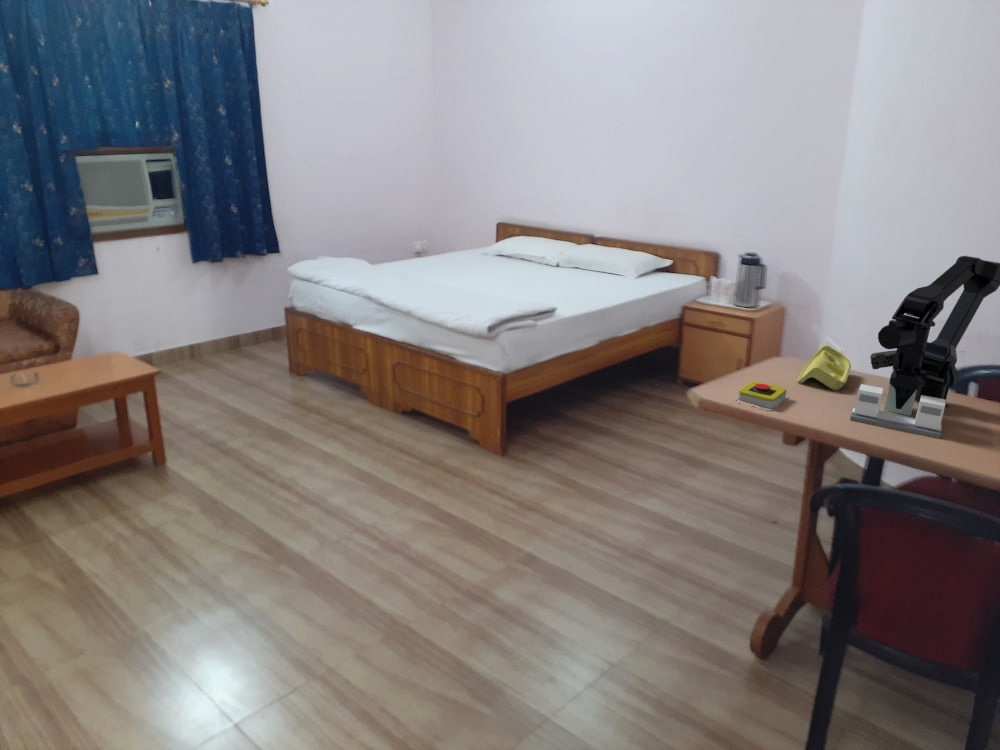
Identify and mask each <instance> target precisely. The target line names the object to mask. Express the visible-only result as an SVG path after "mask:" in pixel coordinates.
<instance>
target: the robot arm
mask: <svg viewBox="0 0 1000 750" xmlns="http://www.w3.org/2000/svg"><path fill="white" fill-rule="evenodd" d="M962 286H963V291H962V292H961V294H960V296H959V297H958V299H957V301H956V303H955V305H954V306H953V309H952V310H951V312H950V314H949V315H948V317H947V319H946V321H945V323H944V324H943V326H942V328H941V330H940V332H939V333H938V335H937V336H936V339H934V340H933V341H931V342H929V341H928V339H929V336H930V330H931V327H935V326H936V323H935V321H934V319H936V318H937V316H938V315H940V313H941V312H942V311H943V309H944V305H945V301H946V300H947V299H948V298H949V297H950V296H952V295H953V294H954V293H955V292H956V291H957V290H959V289H960V288H961V287H962ZM999 287H1000V262H996V261H990V260H984V259H981V258H980V257H977V256H976V257H975V256H969V255H963V256H961V255H960V256H959V257H958V258H957V259H956V261H955V263H954V264H953V265H951V266H950V267H949V268H948V269H946V270H945V271H944V272H943V273H942V274H941V275H939V276H938V277H937V278H936V279H935V280H934V281H932V282H931V283H930V284H928V285H926V286H921V287H918V288H916V289H914V290H912V291H911V292H909V293H908V294H907V295H906V296H905V297H904V299H903V300H902V301H901V303H900V304H899V306H898V307H897V309H896V311H895V312H894V314H893V315H892V317H891V319H890V320H889V322H888V325H885V326H883V327H881V329H880V330H879V331H878V335H877V339H878V340H877V341H878V344H879V345H880V346H882V348H884V349H886V350H887V351H880V352H873V353H871V355H870V357H869V358H870V361H871V362H870V364H871V368H872V369H873V370H879V369H881V368H890V367H892V371H891V374H890V379H889V382H888V383H889V385H892V386H893V387H894V388H895V390H896V409H901V408H902V407H903V406H904V404H905V403H906V402H907V401H908V399H909V398H910V397H911V396H912V394H913V393H914V392H915V391H916V390H917V392H916V396H915V400H914V401H915V402H917V403H919V402H920V398H921V395H923V396H929V397H934V398H940V399H945V408H947V407H949V406H950V404H948V403H947V402H946V401H947V396H948V394H949V390H950V386H951V387H954V386H955V385H956V384H957V383H958V381H959V379H960V374H959V372H958V369H957V367H956V364H957V362H958V356H957V347H958V345H959V344H960V342H961V340H962V337H964V334H965V333H966V331H967V329H968V327H969V325H970V323H972V321H973V318H974V317H975V315H976V313H977V311H978V309H979V307H980V306H981V304H982V303H983V300H984V299H985V298H986V297H988V296H990V295H991V294H993V293H994V292H996V291H997V290H998V289H999ZM895 349H896V350H895Z"/></svg>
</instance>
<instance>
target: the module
mask: <svg viewBox="0 0 1000 750" xmlns="http://www.w3.org/2000/svg"><path fill="white" fill-rule="evenodd" d="M888 386H889V387H888V389H887V390H888V391H887V396H886V400H885V404H884V408H883V412H888V413H893V414H898V415H903V416H908V417H911V416H912V413H913V408H914V404H915V401H916V400H915V396H916V392H917V390H916V391H915V392H914V393H913V394H912V396H911V397H910V398H909V399H908V401H907V402H906V403H905V404H904V406H903V407H902V408H901V409H896V390H895V388H894V387H893V386H892V385H890V384H889V385H888Z"/></svg>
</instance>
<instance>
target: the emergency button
mask: <svg viewBox="0 0 1000 750" xmlns="http://www.w3.org/2000/svg"><path fill="white" fill-rule="evenodd" d="M788 398H789V395H788V394H787V388H786V387H782V386H778V385H773V384H769V383H766V382H762V381H761V382H760V381H756V380H753V381H751V382H750V383H748V384H747V385H745V386H743V387H742V388H740V389H739V390H738V395H737V398H736V400H740V401H743V402H746V403H750V404H754V405H757V406H759V407H760V409H759V410H761V409H763V410H762V411H765V410H766V412H772V411H773V410H775V408H777V407H778V406H779V405H781V404H782V403H783V402H784V401H786V400H787V399H788ZM771 410H772V411H771Z"/></svg>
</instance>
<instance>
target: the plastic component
mask: <svg viewBox="0 0 1000 750" xmlns="http://www.w3.org/2000/svg"><path fill="white" fill-rule="evenodd" d="M851 368H852V364H851V362H850V360H849V359H848V358H847V357H846V356H844V355H843V354H842V353H841V352H840V351H837V350H836V349H834V348H833V347H831V346H830V345H829V344H828V345H827V344H825V345H823V346H822V347H821V348H820V349H819V350H818V351H817V352H816V353H815V354H814V355H813V357H811V359H810V360H808V362H807V363H806V365H805V366H804V368H803V369H802V370H801V372H800V374H799V376H798V377H797V380H796V382H797V383H798V384H802V383H805V382H806V381H807V380H808V379H810V378H813V379H815V380H817V381H819V382H820V383H822V384H823V385H825V386H826V387H828V388H829V389H831V390H834V391H840V390H841V389H842V388H843V387H844V385H845V384H846V383H847V380H848V378H849V374H850V371H851Z"/></svg>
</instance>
